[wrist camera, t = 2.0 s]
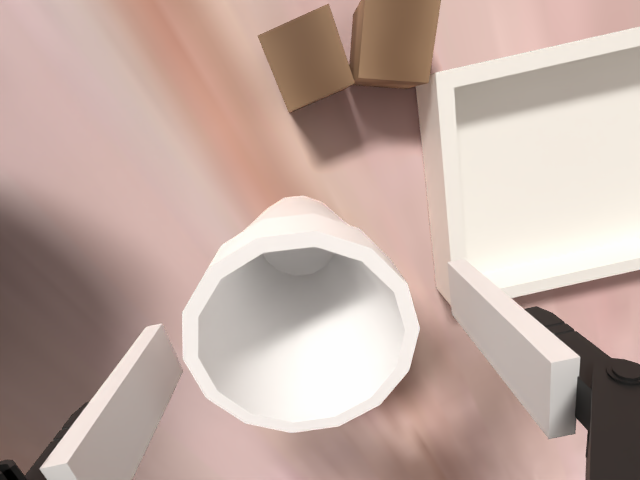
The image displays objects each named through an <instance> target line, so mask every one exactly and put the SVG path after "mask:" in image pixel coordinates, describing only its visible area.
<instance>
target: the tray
mask: <svg viewBox="0 0 640 480" xmlns="http://www.w3.org/2000/svg"><path fill="white" fill-rule="evenodd" d="M416 94H417V104H418V114H419V124H420V134H421V143H422V153H423V163H424V173H425V183H426V193H427V203H428V213H429V222H430V232H431V242H432V252H433V262H434V272H435V282H436V288H437V290H438V291H439V292H440V293H441V294H442V296H443V297H444V298H445V299H446V300H447V302H448V303H449V304H450V305H451V298H450V287H449V276H448V265H447V262H450V261H455V260H460V259H465V260H467V261H468V262H469V263H470V264H471V265H472V266H474V267H475V268H476V269H477V270H478V271H480V272H481V273H482V274H483V275H484V276H485V277H487V278H488V279H489V280H490V281H491V282H493V283H494V284H495V285H496V286H497V287H498V288H500V289H501V290H502V291H503V292H504V293H505V294H507V295H508V296H509V297H510V298H514V297H518V296H523V295H528V294H532V293H537V292H541V291H546V290H550V289H555V288H559V287H564V286H568V285H573V284H577V283H582V282H586V281H591V280H595V279H600V278H605V277H609V276H614V275H618V274H623V273H627V272H632V271H636V270H640V27H636V28H631V29H627V30H623V31H618V32H614V33H609V34H605V35H600V36H596V37H592V38H587V39H583V40H578V41H574V42H569V43H565V44H561V45H556V46H552V47H547V48H543V49H538V50H534V51H530V52H525V53H521V54H516V55H512V56H507V57H503V58H499V59H494V60H490V61H485V62H481V63H476V64H472V65H468V66H463V67H459V68H454V69H450V70H445V71H441V72H437V73H433V74H430V77H429V83H426V84H422V85H419V86H416Z"/></svg>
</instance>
